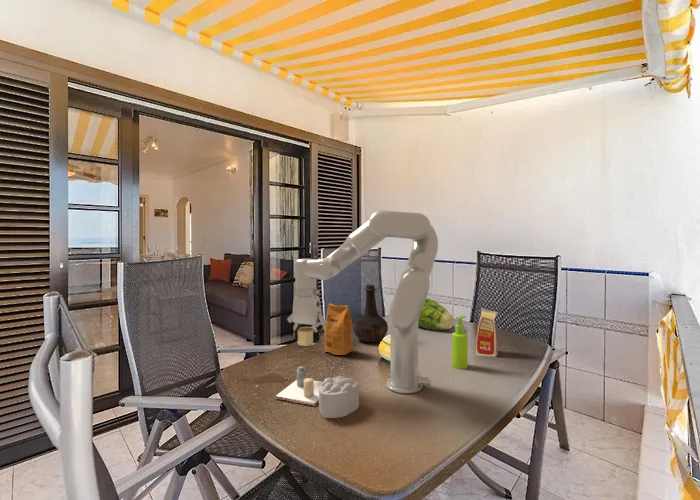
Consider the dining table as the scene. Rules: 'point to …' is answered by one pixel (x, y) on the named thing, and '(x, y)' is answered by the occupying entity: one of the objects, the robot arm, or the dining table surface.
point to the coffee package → (338, 330)
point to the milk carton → (486, 334)
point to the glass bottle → (370, 320)
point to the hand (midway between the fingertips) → (307, 340)
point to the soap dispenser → (459, 346)
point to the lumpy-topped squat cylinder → (338, 396)
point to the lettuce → (435, 316)
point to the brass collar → (305, 336)
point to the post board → (302, 388)
